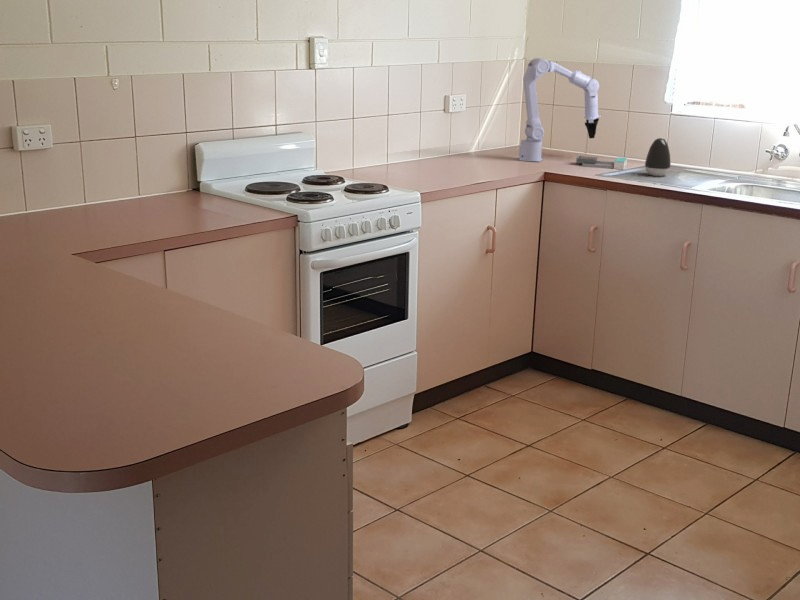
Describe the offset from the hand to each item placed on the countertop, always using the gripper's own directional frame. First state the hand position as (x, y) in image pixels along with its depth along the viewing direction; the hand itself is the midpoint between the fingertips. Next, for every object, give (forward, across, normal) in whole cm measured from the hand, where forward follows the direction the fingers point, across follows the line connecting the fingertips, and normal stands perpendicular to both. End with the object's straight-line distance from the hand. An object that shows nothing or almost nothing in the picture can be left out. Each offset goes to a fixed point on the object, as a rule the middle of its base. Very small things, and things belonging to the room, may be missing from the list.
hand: (592, 136), depth 417 cm
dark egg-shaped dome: (+12, -31, -27) cm, 43 cm away
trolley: (+10, -14, +2) cm, 17 cm away
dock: (+10, -15, -6) cm, 19 cm away
